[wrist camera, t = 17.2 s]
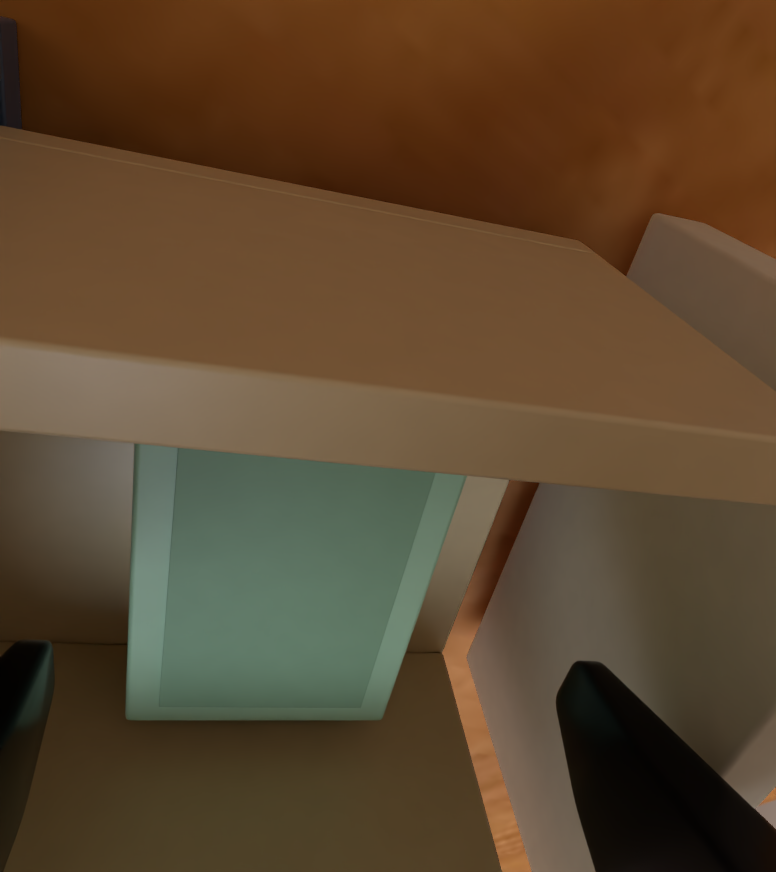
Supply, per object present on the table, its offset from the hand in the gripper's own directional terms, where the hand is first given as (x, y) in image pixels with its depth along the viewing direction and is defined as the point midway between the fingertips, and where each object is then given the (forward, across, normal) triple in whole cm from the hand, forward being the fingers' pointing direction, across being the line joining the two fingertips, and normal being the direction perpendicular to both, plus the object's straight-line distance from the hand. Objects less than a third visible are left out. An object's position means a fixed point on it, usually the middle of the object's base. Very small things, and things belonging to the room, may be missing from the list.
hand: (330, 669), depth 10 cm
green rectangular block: (+4, +1, 0) cm, 4 cm away
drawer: (+5, -2, 0) cm, 6 cm away
